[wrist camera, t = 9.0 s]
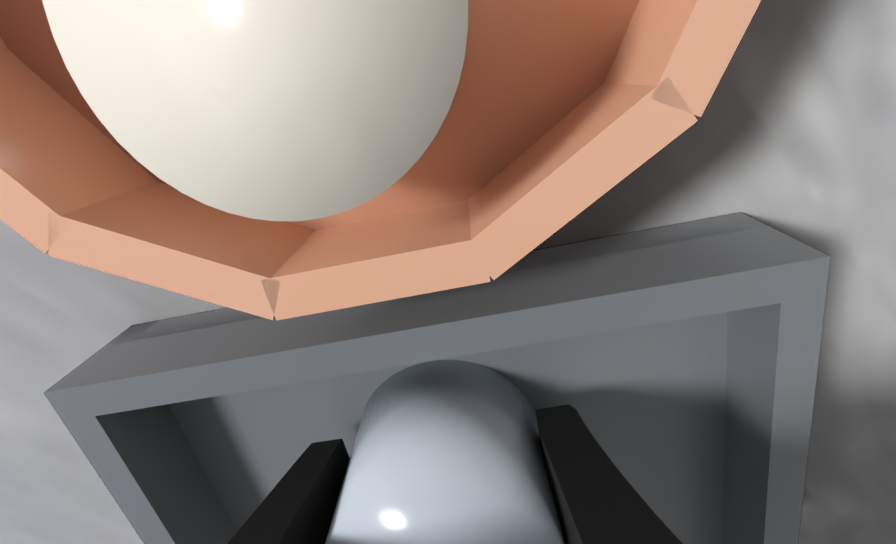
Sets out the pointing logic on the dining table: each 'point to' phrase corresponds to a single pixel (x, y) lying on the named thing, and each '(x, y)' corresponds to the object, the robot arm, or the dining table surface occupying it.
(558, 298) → the parts tray
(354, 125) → the cream pebble
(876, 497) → the dining table surface
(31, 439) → the dining table surface
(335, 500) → the robot arm
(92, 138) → the terracotta bowl
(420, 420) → the slate pebble
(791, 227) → the dining table surface
